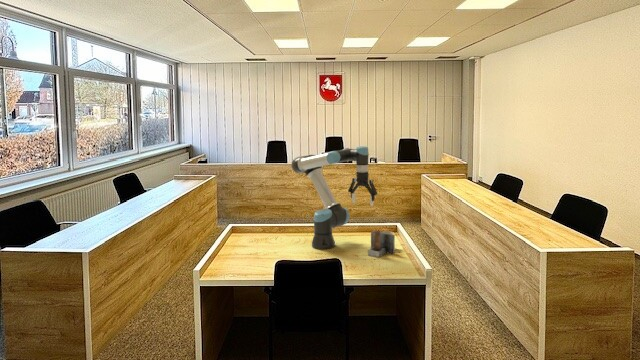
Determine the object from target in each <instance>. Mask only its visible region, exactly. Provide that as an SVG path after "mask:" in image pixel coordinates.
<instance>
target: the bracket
mask: <svg viewBox="0 0 640 360" xmlns="http://www.w3.org/2000/svg"><path fill="white" fill-rule="evenodd" d="M395 245H396V244H395V234H387V233H382V232H381V231H380V251H375V250H374V230H370V248H368V249H367V255H368V256H369V257H376V258H381V257H382V256H384V255H386V253H387V254H390V255H394V254H395V252H396V251H395Z"/></svg>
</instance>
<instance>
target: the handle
mask: <svg viewBox="0 0 640 360" xmlns="http://www.w3.org/2000/svg"><path fill="white" fill-rule="evenodd" d="M373 231H374V250H375V251H380V232H381V230H378V229H375V230H373Z"/></svg>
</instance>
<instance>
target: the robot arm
mask: <svg viewBox="0 0 640 360" xmlns="http://www.w3.org/2000/svg"><path fill="white" fill-rule="evenodd" d="M369 156H370V154H369V148H368V146H366V145H365V146H361V145H360V146H359V145H358V146H356V148H348V147H347V148H343V149H340V150H332V151H329V152H324V153H320V154H317V155H316V154H307V155H303V156H297V157H295V158H294V159H292V161H291V164H290V165H291V168H292V171H293V172H294V173H295V174H299V175H300V174H303V175H304V174H305V175H306V178H309V179H310V180H311V183H312V184H313V186H314V188H315V190H316V192H317V194H318V196H319V197H320V200H321V202H322V204H323V206H324V208H323V209H318V210H316V211H315V212H314V214H313V228H314V229H313V230H314V231H313V232H314V234H313V238H312V241H311V247H312V248H313V249H317V250H330V249H332V248H335V247H336V241H335V239H334V236H333V229H335V228H337V227H342V226H344V225H346V224H347V223H348V222H349V219H350V213H349V210H348V209H347V208H346V207H344V206H342V205H341V203H340V202H337V200H336V197H335V196H334V194H333V192H332V190H331V189H330V186H329V185H328V183H327V180H326V178H325V177H324V175H323V173H322V172H323V167H325V166H328V165H335V164H339V163H344V162H350V161H351V162H355V164H356V176H355V177H352V180H351V183H350V185H349V188H348V190H347V191H348V192H349V193H350V198H351V204H356V193H355V192H356V191H357V190H358V188H359V187H365V189H366V190H367V191H368V193H369V194H370V196H369V204H370V205H369V207H373V206H374V202H375V196H376V195H378V192H377V189H376V186H375V185H374V180H373V179H369V174H370V173H369Z"/></svg>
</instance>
